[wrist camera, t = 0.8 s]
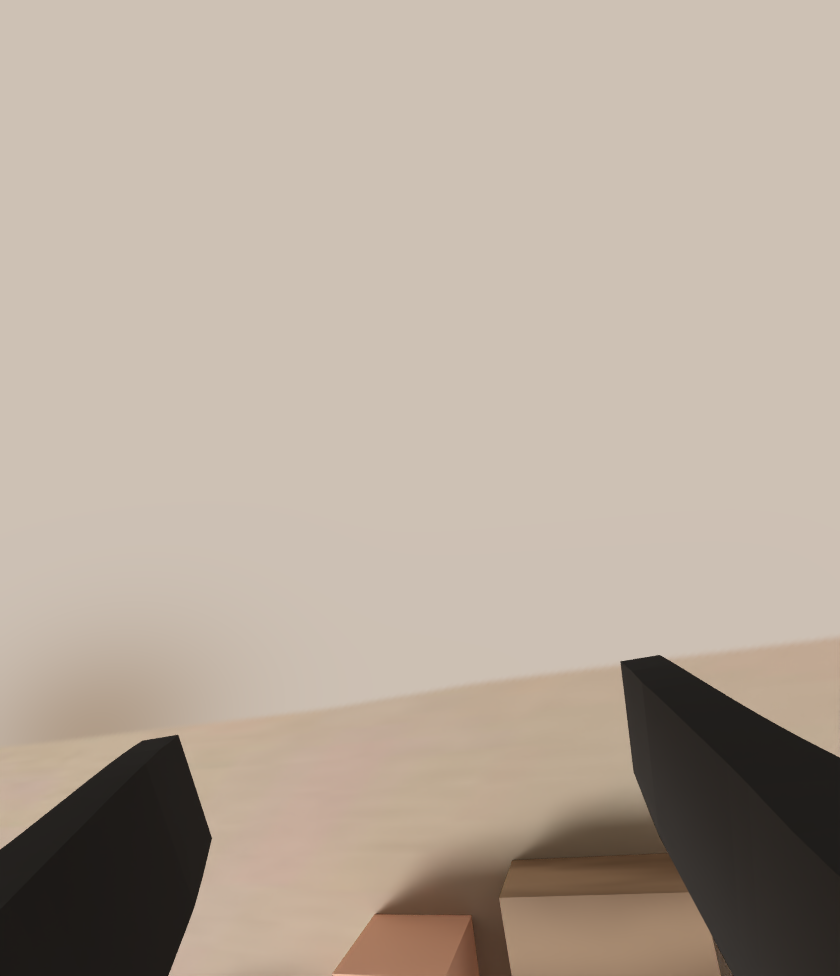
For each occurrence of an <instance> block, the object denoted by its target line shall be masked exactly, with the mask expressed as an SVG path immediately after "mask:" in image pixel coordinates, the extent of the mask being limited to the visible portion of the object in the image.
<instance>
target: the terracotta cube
mask: <svg viewBox="0 0 840 976" xmlns="http://www.w3.org/2000/svg"><path fill="white" fill-rule="evenodd" d="M332 976H479V969H478V961H477V954H476V946H475V939H474V931H473V923H472V916H471V915H385V914H375V915H374V916H373V917H372V919H371V920H370V922H369V923H368V924H367V926H366V927H365V929H364V930H363V931H362V933H361V934H360V936H359V937H358V938H357V940H356V941H355V943H354V944H353V945H352V947H351V948H350V950H349V951H348V952H347V954H346V955H345V957H344V958H343V959H342V961H341V962H340V964H339V965H338V966H337V968H336V969H335V971H334V972H333V973H332Z"/></svg>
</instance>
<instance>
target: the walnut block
mask: <svg viewBox="0 0 840 976" xmlns="http://www.w3.org/2000/svg"><path fill="white" fill-rule="evenodd" d="M499 902H500V908H501V914H502V920H503V926H504V932H505V938H506V944H507V950H508V956H509V962H510V968H511V975H512V976H721V974H720V969H719V965H718V961H717V956H716V952H715V947H714V943H713V938H712V935H711V933H710V931H709V929H708V927H707V925H706V924H705V922H704V920H703V918H702V916H701V914H700V912H699V910H698V909H697V907H696V905H695V903H694V901H693V899H692V897H691V895H690V894H689V892H688V890H687V888H686V886H685V884H684V882H683V880H682V879H681V877H680V875H679V873H678V871H677V869H676V867H675V865H674V863H673V861H672V860H671V858H670V856H669V854H668V853H661V854H639V855H617V856H595V857H573V858H551V859H529V860H512V863H511V865H510V868H509V871H508V874H507V877H506V879H505V882H504V885H503V888H502V891H501V893H500V896H499Z"/></svg>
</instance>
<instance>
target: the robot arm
mask: <svg viewBox="0 0 840 976" xmlns="http://www.w3.org/2000/svg"><path fill="white" fill-rule="evenodd" d="M621 670H622V678H623V686H624V695H625V703H626V711H627V720H628V728H629V737H630V745H631V753H632V762H633V770H634V774H635V776H636V779H637V782H638V784H639V787H640V789H641V792H642V795H643V797H644V800H645V802H646V805H647V807H648V810H649V812H650V815H651V817H652V820H653V822H654V825H655V827H656V829H657V832H658V834H659V837H660V838H661V840H662V842H663V844H664V846H665V848H666V850H667V852H668V854H669V856H670V858H671V860H672V861H673V863H674V865H675V867H676V869H677V871H678V873H679V875H680V877H681V879H682V880H683V882H684V884H685V886H686V888H687V890H688V892H689V894H690V895H691V897H692V899H693V901H694V903H695V905H696V907H697V909H698V910H699V912H700V914H701V916H702V918H703V920H704V922H705V924H706V925H707V927H708V929H709V931H710V933H711V935H712V937H713V939H714V940H715V942H716V944H717V946H718V948H719V950H720V952H721V954H722V955H723V957H724V959H725V961H726V963H727V965H728V967H729V969H730V970H731V972H732V974H733V976H840V758H839V757H837V756H835V755H834V754H832V753H830V752H828V751H826V750H824V749H822V748H820V747H818V746H816V745H814V744H812V743H810V742H808V741H806V740H804V739H802V738H800V737H798V736H797V735H795V734H793V733H791V732H789V731H787V730H786V729H784V728H782V727H780V726H778V725H776V724H775V723H773V722H771V721H769V720H768V719H766V718H764V717H762V716H761V715H759V714H757V713H755V712H754V711H752V710H750V709H748V708H747V707H745V706H743V705H742V704H740V703H738V702H737V701H735V700H733V699H732V698H730V697H728V696H726V695H725V694H723V693H722V692H720V691H718V690H717V689H715V688H713V687H712V686H710V685H708V684H707V683H705V682H704V681H702V680H700V679H699V678H697V677H695V676H694V675H692V674H691V673H689V672H687V671H686V670H684V669H682V668H681V667H679V666H677V665H676V664H674V663H673V662H671V661H669V660H667V659H666V658H664V657H662V656H660V655H657V656H651V657H645V658H639V659H633V660H627V661H621ZM211 840H212V837H211V834H210V831H209V828H208V825H207V822H206V819H205V816H204V812H203V809H202V806H201V803H200V800H199V797H198V794H197V791H196V788H195V785H194V782H193V779H192V776H191V773H190V770H189V766H188V763H187V760H186V757H185V754H184V751H183V748H182V745H181V742H180V739H179V736H178V735H174V736H168V737H162V738H156V739H150V740H144V741H141V742H140V743H138V744H137V745H135V746H134V747H132V748H131V749H129V750H128V751H126V752H125V753H123V754H122V755H121V756H119V757H118V758H117V759H115V760H114V761H113V762H111V763H110V764H109V765H107V766H106V767H105V768H104V769H102V770H101V771H100V772H98V773H97V774H96V775H95V776H93V777H92V778H91V779H89V780H88V781H87V782H86V783H84V784H83V785H82V786H81V787H79V788H78V789H77V790H76V791H74V792H73V793H72V794H71V795H69V796H68V797H67V798H66V799H64V800H63V801H62V802H60V803H59V804H58V805H57V806H55V807H54V808H53V809H52V810H50V811H49V812H48V813H47V814H45V815H44V816H43V817H42V818H40V819H39V820H38V821H37V822H35V823H34V824H33V825H32V826H30V827H29V828H28V829H26V830H25V831H24V832H23V833H21V834H20V835H19V836H18V837H16V838H15V839H14V840H12V841H11V842H10V843H8V844H7V845H6V846H4V847H3V848H2V849H0V976H168V975H169V972H170V970H171V967H172V965H173V962H174V959H175V957H176V954H177V952H178V949H179V946H180V944H181V941H182V938H183V936H184V933H185V931H186V928H187V925H188V923H189V920H190V917H191V915H192V912H193V909H194V906H195V903H196V899H197V896H198V892H199V888H200V885H201V881H202V877H203V873H204V869H205V865H206V861H207V857H208V852H209V848H210V844H211Z"/></svg>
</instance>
